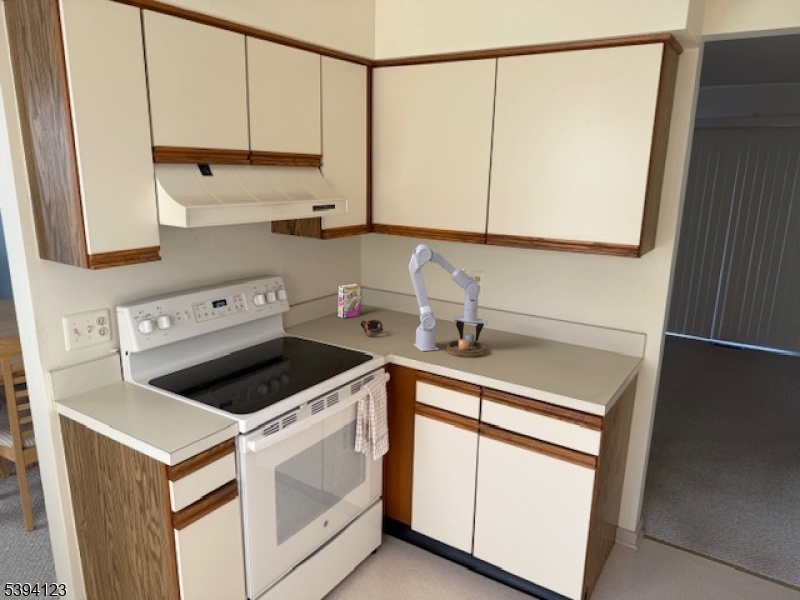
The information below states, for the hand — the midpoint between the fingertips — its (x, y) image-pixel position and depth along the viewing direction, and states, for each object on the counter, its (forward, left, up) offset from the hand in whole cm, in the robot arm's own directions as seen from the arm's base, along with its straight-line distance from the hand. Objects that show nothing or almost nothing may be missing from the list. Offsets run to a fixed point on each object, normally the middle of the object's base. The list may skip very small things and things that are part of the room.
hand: (469, 339), depth 233 cm
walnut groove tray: (+3, -3, -4) cm, 6 cm away
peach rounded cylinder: (+7, -6, -3) cm, 9 cm away
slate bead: (0, 0, -3) cm, 3 cm away
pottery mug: (-32, -33, -4) cm, 47 cm away
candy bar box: (-66, -34, -4) cm, 74 cm away
